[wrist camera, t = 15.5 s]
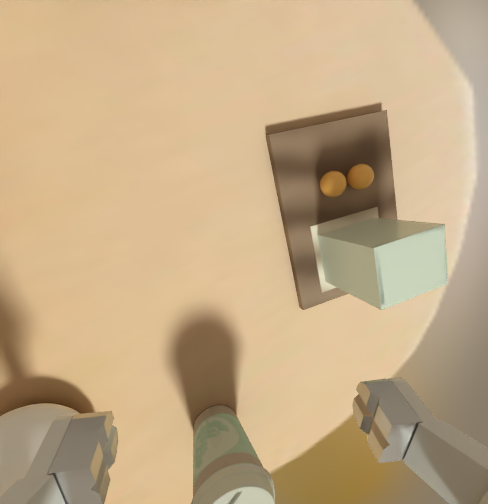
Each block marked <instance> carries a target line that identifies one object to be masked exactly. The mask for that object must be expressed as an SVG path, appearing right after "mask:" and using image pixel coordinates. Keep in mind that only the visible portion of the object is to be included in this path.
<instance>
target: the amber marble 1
mask: <svg viewBox="0 0 488 504" xmlns="http://www.w3.org/2000/svg"><path fill="white" fill-rule="evenodd" d="M346 185H347V181H346V178H345V176H344V175H343V174H342V173H341V172H338V171H330V172H328V173H326V174H325V175H324V176H323V177H322V179H321V181H320V189H321V191H322V192H323V194H325V195H326V196H329V197H336V196H339V195H340V194H342V193H343V192H344V190H345V188H346Z"/></svg>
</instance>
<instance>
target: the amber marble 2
mask: <svg viewBox="0 0 488 504" xmlns="http://www.w3.org/2000/svg"><path fill="white" fill-rule="evenodd" d="M373 179H374V172H373V170H372V168H371V167H370V166H368V165H366V164H358V165H355V166H354V167H352V168H351V169H350V171H349V172H348V175H347V181H348V184H349V185H350V186H351V187H352V188H354V189H358V190H361V189H365V188H367V187H368V186H369V185H370V184H371V183H372V182H373Z"/></svg>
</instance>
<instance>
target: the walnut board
mask: <svg viewBox="0 0 488 504" xmlns="http://www.w3.org/2000/svg"><path fill="white" fill-rule="evenodd" d="M266 140H267V145H268V150H269V155H270V160H271V165H272V170H273V175H274V180H275V185H276V190H277V195H278V200H279V205H280V210H281V215H282V220H283V225H284V230H285V235H286V240H287V245H288V250H289V255H290V260H291V265H292V270H293V275H294V280H295V285H296V291H297V296H298V301H299V306H300V308H301V309H303V310H305V309H308V308H310V307H313V306H316V305H318V304H321V303H324V302H327V301H329V300H332V299H335V298H338V297H340V296H343V295H346V294H348V293H347V292H345V291H343V290H341V289H339V288H337V287H335V286H333V285H331V284H329V283H327V282H325V276H324V270H323V265H322V259H321V253H320V247H319V242H318V236H317V235H319V234H322V233H325V232H329V231H332V230H335V229H338V228H342V227H345V226H348V225H351V224H355V223H358V222H361V221H364V220H367V219H371V218H382V219H393V220H397V211H396V201H395V190H394V180H393V170H392V160H391V149H390V139H389V129H388V119H387V110H385V111H380V112H375V113H370V114H366V115H361V116H356V117H351V118H346V119H342V120H337V121H332V122H327V123H322V124H318V125H313V126H308V127H303V128H298V129H293V130H289V131H284V132H279V133H274V134H269V135H267V136H266ZM358 164H366V165H368V166H370V167H371V168H372V170H373V172H374V179H373V182H372V183H371V184H370V185H369V186H368V187H367V188H365V189H361V190H358V189H354V188H352V187H351V186H350V185H349V184H348V181H347V175H348V172H349V171H350V169H351V168H352V167H354V166H355V165H358ZM330 171H338V172H341V173H342V174H343V175H344V176H345V178H346V181H347V185H346V188H345V190H344V192H343V193H342V194H340V195H339V196H336V197H329V196H326V195H325V194H323V192H322V191H321V189H320V181H321V179H322V177H323V176H324V175H325V174H326V173H328V172H330Z"/></svg>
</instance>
